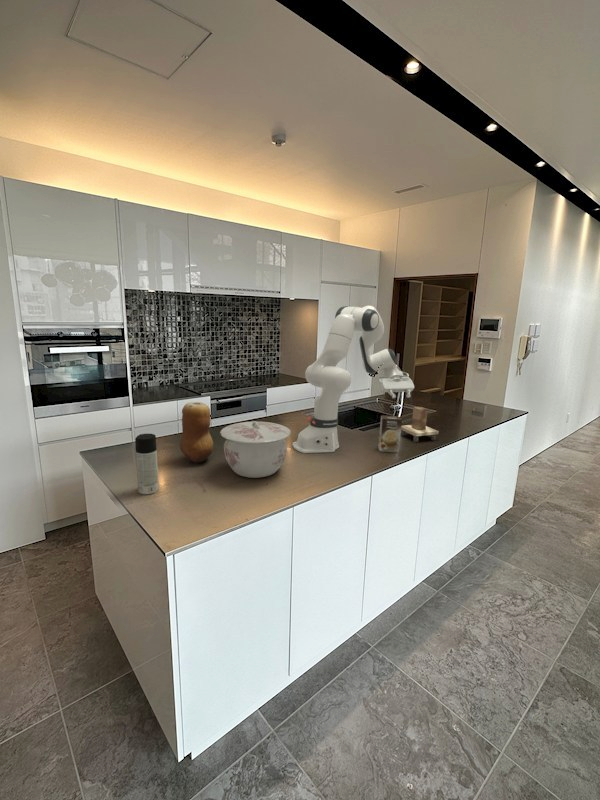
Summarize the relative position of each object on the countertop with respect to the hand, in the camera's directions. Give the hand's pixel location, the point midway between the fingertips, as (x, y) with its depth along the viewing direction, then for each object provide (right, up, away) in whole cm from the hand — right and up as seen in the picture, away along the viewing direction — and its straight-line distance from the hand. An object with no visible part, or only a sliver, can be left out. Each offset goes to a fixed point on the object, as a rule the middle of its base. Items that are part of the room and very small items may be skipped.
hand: (401, 397), depth 211 cm
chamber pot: (-73, -30, -57) cm, 98 cm away
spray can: (-109, -33, -77) cm, 137 cm away
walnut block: (+6, -16, -10) cm, 20 cm away
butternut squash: (-99, -27, -48) cm, 114 cm away
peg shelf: (+6, -21, -9) cm, 24 cm away
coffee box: (-14, -25, -29) cm, 41 cm away
